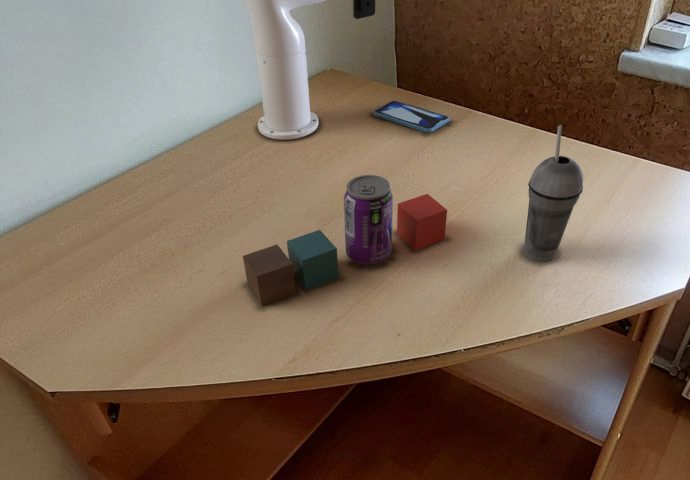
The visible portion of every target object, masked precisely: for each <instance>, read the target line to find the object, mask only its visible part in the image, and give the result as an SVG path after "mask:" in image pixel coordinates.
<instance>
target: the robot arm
mask: <svg viewBox="0 0 690 480" xmlns="http://www.w3.org/2000/svg"><path fill="white" fill-rule="evenodd" d="M326 1H327V0H245V2H246V4H247V9H248V12H249V13H248V14H249V17H250V18H249V19H250V23H251V28H252V34H253V41H254V49H255V55H256V61H257V62H256V64H257V71H258V77H259V85H260V95H261V100H262V101H261V102H262V108H263V109H262V110H263V115H262V116H261V117H260V118H259V119H258V121H257V129H258V131H259V133H260V134H261V135H263V136H264V137H266V138H268V139H272V140H277V141H278V140H280V141H288V140H297V139H300V138H304V137H306V136H308V135H310V134H313V133H314V132H315V131H316V130H317V129H318V128H319V117H318V115H317V114H316V113H315V112H314V111H311V104H310V89H309V77H308V76H309V75H308V63H307V50H306V48H307V47H306V37H305V34H304V31H303V29H302V27H301V25H300V24H299V23H298V22H297V21H296V20H295V19H294V17H293V16H292V15H291V11H293V10H294V9H298V8H302V7H307V6H311V5H315V4H318V3H324V2H326ZM352 10H353V11H352V18H353V19H356V20H359V19H360V20H361V19H364V18H369V17H372V16H375V14H376V0H352Z"/></svg>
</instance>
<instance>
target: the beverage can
mask: <svg viewBox="0 0 690 480" xmlns="http://www.w3.org/2000/svg"><path fill="white" fill-rule="evenodd" d="M393 197H394V196H393V192H392V190H391V185H390V181H388V179H386V178H385V177H382V176H381V175H375V174H363V175H358V176H355V177H353V178H351V179H349V181H348V182H347V184H346V190H345V193H344V196H343V214H344V215H343V217H344V240H345V243H344V244H345V254H346V256H347V258H348V259H349V260H351V261H352V262H355V263H357V264H361V265H375V264H379V263H382V262H384V261H385V260H387V259H388V258H389V257H390V256H391V255H392V250H393V249H392V247H393V210H394V209H393V205H394V204H393V202H394V198H393Z"/></svg>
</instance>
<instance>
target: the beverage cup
mask: <svg viewBox="0 0 690 480" xmlns="http://www.w3.org/2000/svg"><path fill="white" fill-rule="evenodd" d="M562 131H563V126H562V125H561V124H560V125H559V124H558V126H557V132H556V142H555V152H554V156H550V157H548V158H546V159H544V160H542V161H541V162H540V163H539V164H538V165H537V166H536V167H535V169H534V170H533V172H532V174H531V177H530V178H529V181H528V184H527V185H528V198H529V199H528V207H527V208H528V209H527V216H526V217H527V218H526V227H525V235H524V251H523V252H524V255H525V256H526V258H528V259H529V260H531V261H533V262H538V263H546V262H550V261H552V260H553V259H554V258H555V256H556V254H557V251H558V250H559V247H560V245H561V242H562V239H563V237H564V234H565V231H566V228H567V226H568V224H569V220H570V218H571V216H572V212H573V210H574V208H575V205H576V204H577V203H578V200H579V199H580V196H581V194H582V193H583V190H584V174H583V171H582V169H581V167H580V165H579V164H578V163H577V162H576V161H575V160H574V159H572V158H571V157H568V156H565V155H560V150H561V141H562Z"/></svg>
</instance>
